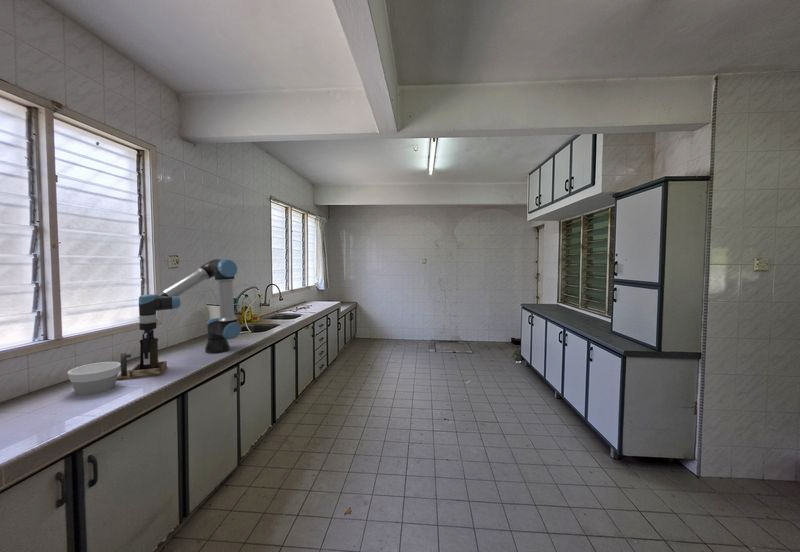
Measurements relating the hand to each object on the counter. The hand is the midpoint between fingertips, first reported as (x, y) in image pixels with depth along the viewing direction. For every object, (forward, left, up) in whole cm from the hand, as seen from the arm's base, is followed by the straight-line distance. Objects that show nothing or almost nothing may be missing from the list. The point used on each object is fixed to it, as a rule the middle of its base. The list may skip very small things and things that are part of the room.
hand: (149, 361), depth 182 cm
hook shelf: (+3, 0, -6) cm, 7 cm away
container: (0, 0, -6) cm, 6 cm away
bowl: (+18, +17, -7) cm, 25 cm away
